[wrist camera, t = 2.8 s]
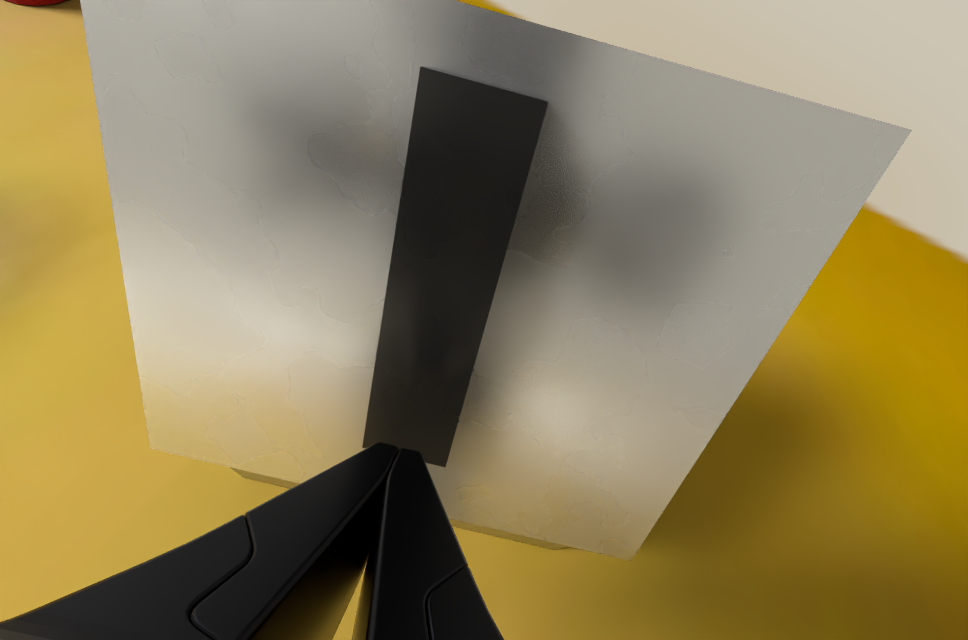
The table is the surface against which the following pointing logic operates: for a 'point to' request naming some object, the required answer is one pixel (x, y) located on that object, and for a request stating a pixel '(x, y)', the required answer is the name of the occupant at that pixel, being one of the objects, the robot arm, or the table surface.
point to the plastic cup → (35, 2)
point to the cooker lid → (456, 246)
